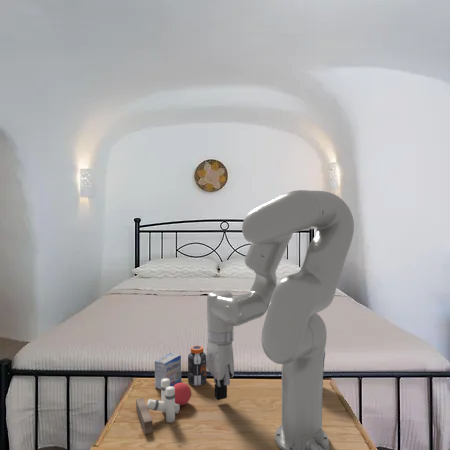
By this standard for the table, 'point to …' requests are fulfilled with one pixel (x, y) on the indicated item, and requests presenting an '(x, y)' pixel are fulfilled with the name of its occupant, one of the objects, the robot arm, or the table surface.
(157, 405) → the front pin
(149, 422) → the back wall
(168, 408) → the pin
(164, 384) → the pin
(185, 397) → the ball
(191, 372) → the pill bottle
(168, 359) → the medicine box
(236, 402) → the table surface
